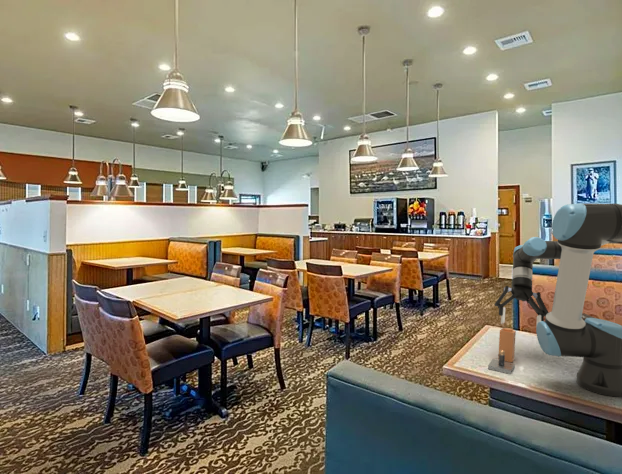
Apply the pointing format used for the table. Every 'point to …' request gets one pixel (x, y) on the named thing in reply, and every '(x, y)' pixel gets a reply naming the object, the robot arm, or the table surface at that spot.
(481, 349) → the table surface
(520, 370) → the table surface
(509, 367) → the junction plate
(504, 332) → the orange capped block
